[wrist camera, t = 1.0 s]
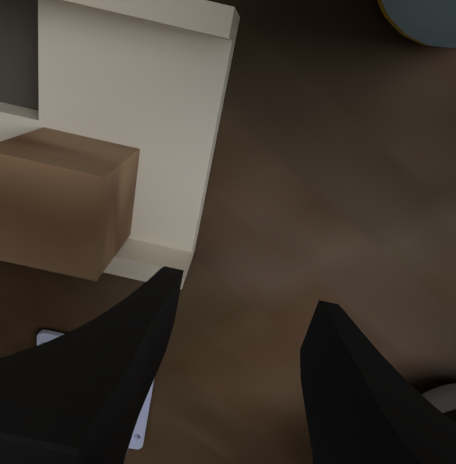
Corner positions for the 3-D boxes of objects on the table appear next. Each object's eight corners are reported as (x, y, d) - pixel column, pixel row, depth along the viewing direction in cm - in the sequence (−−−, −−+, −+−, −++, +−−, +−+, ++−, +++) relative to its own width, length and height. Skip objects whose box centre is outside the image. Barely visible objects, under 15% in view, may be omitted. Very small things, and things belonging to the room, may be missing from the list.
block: (130, 234, 20) (96, 281, 15) (44, 215, 19) (-14, 257, 15) (139, 148, 18) (103, 176, 14) (44, 127, 18) (-22, 149, 13)
